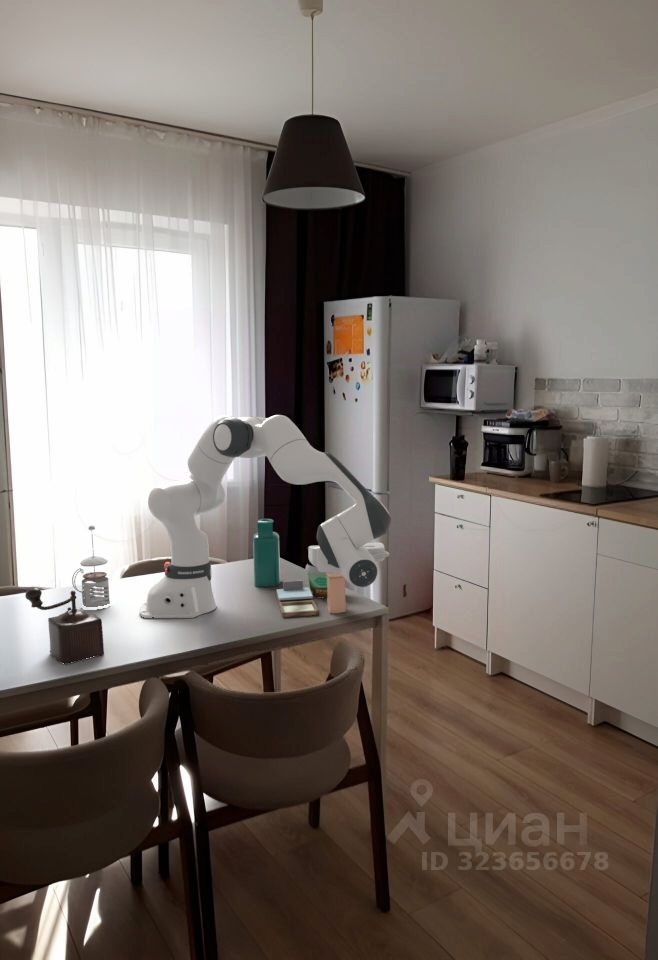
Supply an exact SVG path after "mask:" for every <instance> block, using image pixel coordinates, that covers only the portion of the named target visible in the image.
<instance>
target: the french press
mask: <svg viewBox="0 0 658 960" xmlns="http://www.w3.org/2000/svg"><path fill="white" fill-rule="evenodd" d="M88 530H89V531H93V530H96V527H95V526H94V525H90V526H89V527H88ZM91 544H92V547H94V537H93V535H91ZM108 562H109V560H108V559H106V558H105V557H102V556H95V553H94V550H92V556H90V557H87V558H85V559H83V560H82V561H80V562H79V564H80V565H81V567H93V571H92V572H86V573H83V572H84V569H83V568H77V569H76V570H75V571H74V573H73V576H72V579H71V582H72V583H71V584H72V587H73V588H74V589H75V590H74V591H77V592H79V593H81V597H82V598H81V599H82V604H83V605H84V606H86V607H98V606H104V605H107V604H110V601H111V600H110V590H109V584H110V583H109V578H108V577H106V576H108V575H107V574H108V573H107V572H104V571H95V567H99V566H103V565H105V564H107V563H108ZM79 573H81V574H83V575H82V578H83V579H82V580H81V590H82V591H81V590H79V589H78V588H77V586H76V579H77V578H76V577H77V576H78V574H79Z"/></svg>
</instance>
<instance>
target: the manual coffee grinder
mask: <svg viewBox="0 0 658 960" xmlns="http://www.w3.org/2000/svg"><path fill="white" fill-rule="evenodd" d="M42 593H43V592H42V590H41V589H40V588H38V587H31V588H29V589H28V590H26V591H25V596H24V597H25V599H26V600H28V601H29V602H30V604H31V608H33V609H34V608H37V609H39V610H41V611H48V610H52V609H57V608H59V607H62V606H65V605H67V604H69V603H71V607H68V608H67V611H65V612H64V613H61V614H59V615H57V616H52V617H48V619H47V622H48V632H49V633H48V634H49V654H50V655H51V654H52V655H53V656H54V657H55V658H56V659H57V660H58V661H57V662H59V661H60V662H62V663H64V664H65V663H70V664H72V663H71V662H74V661H78V660H82V659H86V658H90V657H93V656H97V655H100V656H103V655H102V654H104V655H105V649H104V648H105V646H104V634H103V633H104V632H103V621H102V619H101V618H100V617H99V616H97V615H96V614H94V613H92V612H91V611H89V610H83V609H77V607H76V599H77V596H76V594H77V593H76V590H71V591H70V593H69V594H70V597H69V598H67V599H66V600H63V601H61V602H58V603H57V602H56V603H55V604H53V605H48V606H43V604H44V603H43V601H42V599H41V597H42ZM52 655H51V656H52ZM53 656H52V657H53ZM54 657H53V658H54ZM97 657H98V656H97ZM55 658H54V659H55ZM93 658H94V657H93ZM56 659H55V660H56ZM90 659H91V658H90ZM86 660H87V659H86ZM82 661H83V660H82ZM60 662H59V663H60ZM78 662H79V661H78ZM62 663H61V664H62ZM74 663H75V662H74ZM64 664H63V665H64ZM65 665H66V664H65Z"/></svg>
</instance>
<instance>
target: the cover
mask: <svg viewBox="0 0 658 960" xmlns="http://www.w3.org/2000/svg"><path fill="white" fill-rule="evenodd" d="M303 582H304V580H303V579H289V580H287V579H286V580H285V579H284V580H283V581H282V585H283V587H282V588H279V589H278V588H277V589H276V592H277V594H278V598H279V600H294V599H310V598H313V599H314V597H313V595H312V593H311V591H310V586H306V587H304V583H303Z"/></svg>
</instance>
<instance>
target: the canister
mask: <svg viewBox="0 0 658 960" xmlns="http://www.w3.org/2000/svg"><path fill="white" fill-rule="evenodd" d="M326 575H327V598H326V600H327V610H329V611H328V613H329V612H330V613H332V614H341V613H340V612H346V610H347V609H346V580H345V578H344V577H343V576H342V575H340V574H336V573H326ZM330 613H329V614H330Z"/></svg>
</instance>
